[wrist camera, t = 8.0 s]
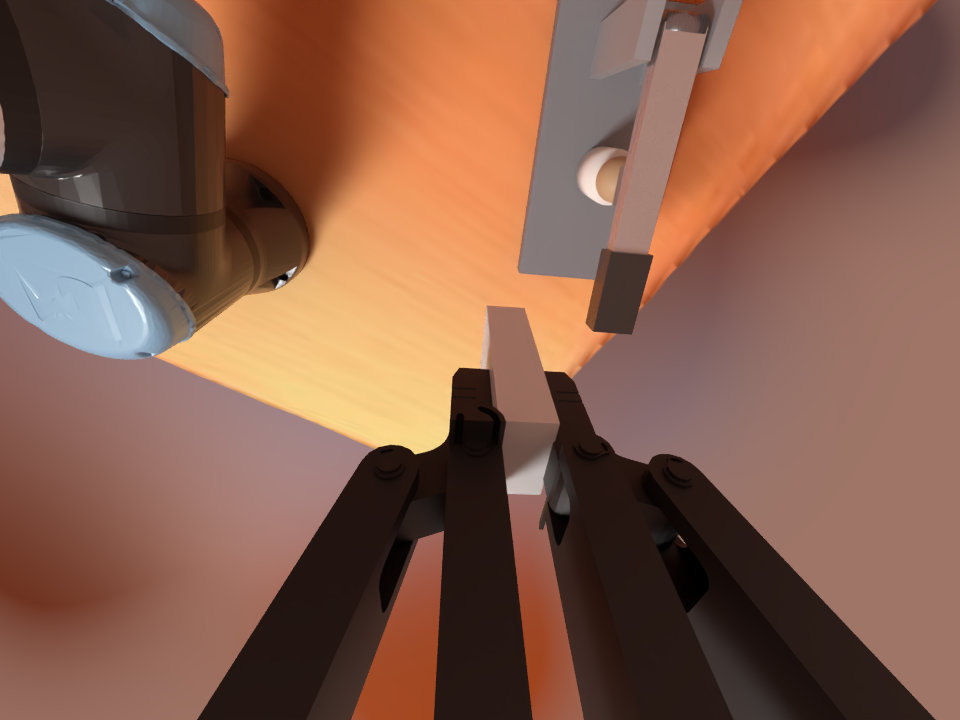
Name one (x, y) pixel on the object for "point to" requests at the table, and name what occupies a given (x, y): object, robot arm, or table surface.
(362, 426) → the table surface
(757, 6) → the table surface
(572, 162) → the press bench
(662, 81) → the press lever
